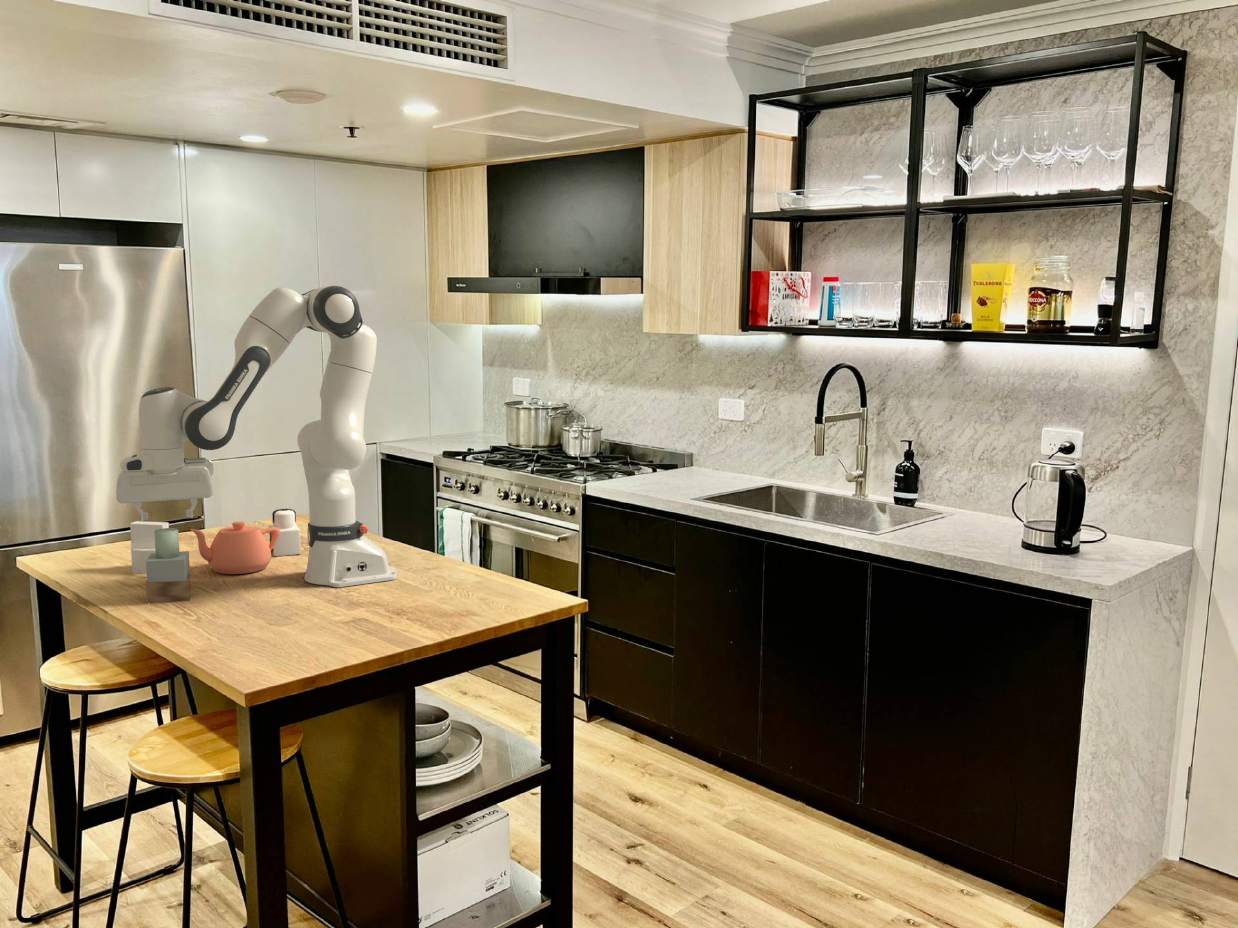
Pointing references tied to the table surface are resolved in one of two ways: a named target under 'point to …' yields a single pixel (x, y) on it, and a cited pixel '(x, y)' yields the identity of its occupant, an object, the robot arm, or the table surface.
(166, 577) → the top block
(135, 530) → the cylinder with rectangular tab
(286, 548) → the white bottle
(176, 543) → the pale green cylinder
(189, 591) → the bottom block
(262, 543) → the teapot
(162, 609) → the table surface
